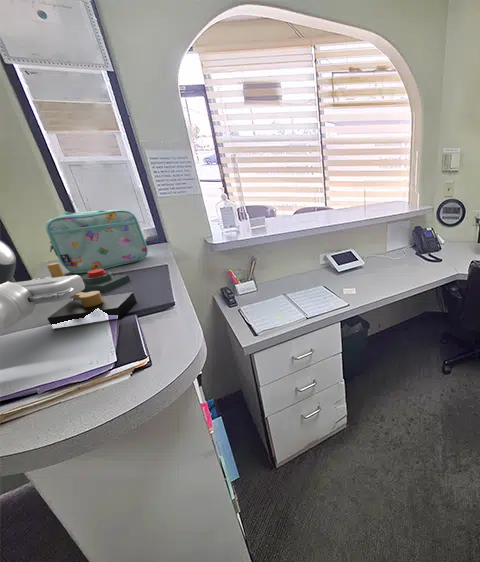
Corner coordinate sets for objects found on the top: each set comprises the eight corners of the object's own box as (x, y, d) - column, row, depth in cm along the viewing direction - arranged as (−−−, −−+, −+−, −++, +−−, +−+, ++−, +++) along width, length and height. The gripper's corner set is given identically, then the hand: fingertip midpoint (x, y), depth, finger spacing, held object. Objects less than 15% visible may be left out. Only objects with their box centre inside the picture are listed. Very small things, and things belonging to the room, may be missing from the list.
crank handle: (57, 303, 79) (39, 266, 76) (75, 296, 83) (59, 261, 79) (90, 308, 76) (73, 269, 72) (107, 301, 80) (92, 264, 76)
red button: (85, 278, 95) (83, 273, 95) (98, 273, 99) (95, 268, 98) (97, 278, 95) (95, 273, 94) (109, 273, 99) (107, 268, 98)
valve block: (53, 329, 73) (47, 318, 72) (76, 311, 82) (71, 300, 81) (122, 318, 77) (117, 307, 76) (137, 302, 86) (133, 292, 85)
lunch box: (62, 279, 106) (33, 217, 98) (60, 272, 112) (33, 213, 104) (153, 259, 123) (135, 205, 115) (146, 255, 130) (129, 203, 122)
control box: (71, 292, 95) (65, 280, 93) (98, 280, 103) (94, 269, 102) (105, 292, 93) (100, 280, 92) (130, 281, 102) (126, 269, 100)
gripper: (57, 281, 64) (91, 261, 76) (-76, 298, 58) (-17, 274, 70) (70, 308, 66) (101, 285, 78) (-57, 327, 61) (-3, 299, 73)
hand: (44, 280), depth 74 cm, fingers closed
